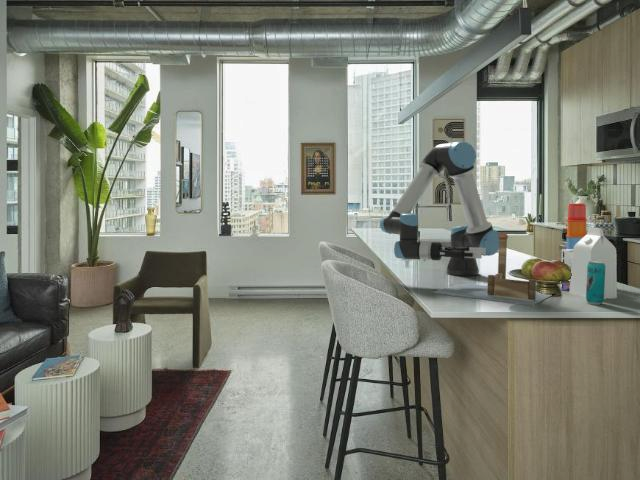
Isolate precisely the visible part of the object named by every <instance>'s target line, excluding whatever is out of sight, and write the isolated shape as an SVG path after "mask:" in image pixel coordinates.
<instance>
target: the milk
mask: <svg viewBox="0 0 640 480" xmlns="http://www.w3.org/2000/svg"><path fill="white" fill-rule="evenodd" d="M586 233H587V235H585V236H584V237H583V238H582V239H581V240H580V241H579V242H578V243H577V244H576V245H575V246H574V249H573V259H572V269H571V273H572V276H571V279H570V290H568V293H569V294H570V295H573V296H574V295H575V296H577V297H580V298H584V299H586V285H587V265H588V263H589V262H588V261H603V262H605V263H604V264H605V266H606V267H605V288H604V300H605V299H607V298H608V299H618V297H617V295H618V292H617V291H618V290H617V289H618V287H617V285H618V284H617V279H618V278H617V249H616V247H615V245H614V244H613V243H612V242H611V241H609V240H608V239H607V237H606V236H605V234H604V229H603V228H601V227H592V226H591V227H588V229H587V231H586Z"/></svg>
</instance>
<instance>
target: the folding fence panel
mask: <svg viewBox="0 0 640 480" xmlns="http://www.w3.org/2000/svg"><path fill="white" fill-rule="evenodd" d="M498 238H499V250H498V257H497V258H498V259H497V260H498V261H497V262H498V263H497V273H496V274H494V275H495V279H496V278H500V279H507V251H508V250H507V249H508V248H507V245H508V238H509V236H508V233H506V232H499V236H498ZM494 293H495V280H494Z"/></svg>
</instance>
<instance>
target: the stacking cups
mask: <svg viewBox="0 0 640 480" xmlns="http://www.w3.org/2000/svg"><path fill="white" fill-rule="evenodd" d="M586 213H587V210H586V204H585V203H568V205H567V219H566V222H567V223H566V224H567V225H566V226H567V229H566V234H565V237H566V248H565V249H574V246H575V245H576V244H577V243H578V242H579V241H580V240H581V239H582V238H583V237H584V236H585V235H587V221H588V219H587V214H586Z"/></svg>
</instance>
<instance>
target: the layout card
mask: <svg viewBox="0 0 640 480" xmlns="http://www.w3.org/2000/svg"><path fill="white" fill-rule="evenodd" d="M537 291H538V290H536V296H535V300H530V299H524V298H516V297H507V296H499V295H495V293H494V295H488V294H487V292H488V285H483V284H476V283H465V282H462V283H459V284H458V283H457V284H455V285H452V286H449V287H445V288H441V289H439V290H436V291H433V292H432V294H437V295H443V296H451V297H458V298H459V297H460V298H468V299H476V300H485V301H493V302H499V303H507V304H517V305H522V306H523V305H524V306H535V305H537V304H539V303H541V302H543V301H545V300H547V299H549V298H551V297H552V295H545V294H541V293H539V292H537Z"/></svg>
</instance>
